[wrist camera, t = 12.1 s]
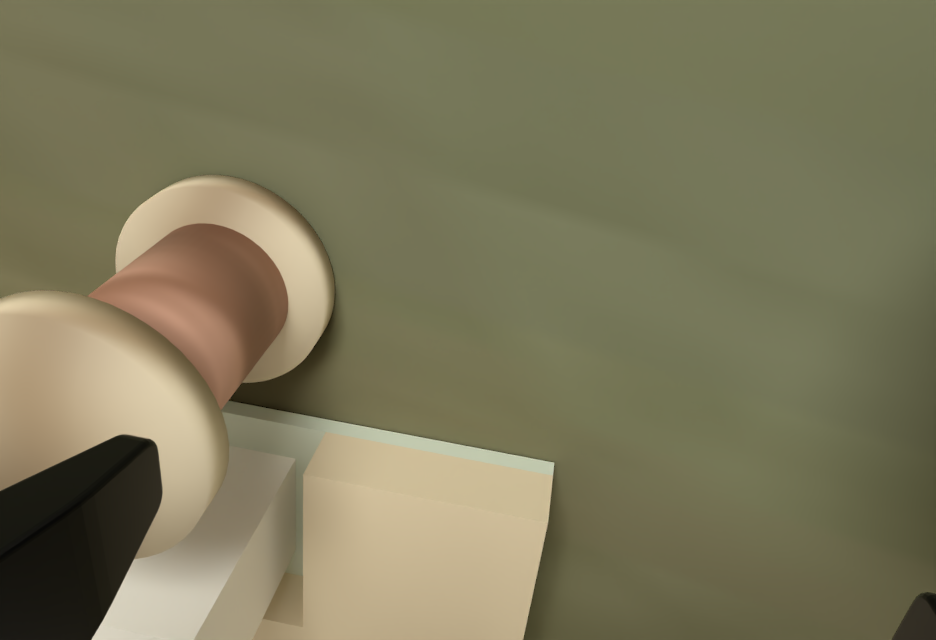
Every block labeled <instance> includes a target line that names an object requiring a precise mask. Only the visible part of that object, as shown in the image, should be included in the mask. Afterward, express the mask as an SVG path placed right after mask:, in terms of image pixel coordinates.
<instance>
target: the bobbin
mask: <svg viewBox="0 0 936 640" xmlns="http://www.w3.org/2000/svg"><path fill="white" fill-rule="evenodd" d="M334 299H335V282H334V276H333V270H332V267H331V263H330V260H329V257H328V255H327V252H326V250H325V248H324V246H323V244H322V242H321V240H320V239H319V237H318V236H317V234H316V232H315V231H314V229H313V228H312V227H311V226H310V224H309V223H308V222H307V221H306V219H305V218H304V217H303V216H302V215H301V214H300V213H299V212H298V211H297V210H296V209H295V208H294V207H292V206H291V205H290V204H289V203H288V202H286V201H285V200H284V199H282V198H281V197H279V196H278V195H276V194H275V193H273V192H272V191H270V190H268V189H266V188H264V187H262V186H260V185H258V184H255V183H252V182H250V181H247V180H244V179H240V178H236V177H231V176H224V175H200V176H194V177H189V178H186V179H183V180H180V181H177V182H175V183H174V184H172V185H170V186H168V187H166V188H165V189H163V190H162V191H160V192H159V193H157V194H156V195H154V196H153V197H151V198H150V199H148V200H147V201H145V202H144V203H143V204H142V205H140V206H139V207H138V208H137V209H136V210H135V211H134V212H133V213H132V214H131V215H130V217H129V218H128V220H127V222H126V223H125V225H124V227H123V229H122V231H121V234H120V236H119V240H118V244H117V248H116V274H115V275H114V276H113V277H112V278H110V279H109V280H108V281H106V282H105V283H104V284H102V285H101V286H100V287H99V288H97V289H96V290H95V291H93V292H92V293H91V294H89V295H88V296H84V295H79V294H75V293H71V292H63V291H54V290H33V291H27V292H20V293H15V294H12V295H9V296H6V297H3V298H1V299H0V491H1V490H3V489H5V488H7V487H9V486H11V485H13V484H15V483H18V482H20V481H22V480H24V479H26V478H28V477H30V476H32V475H34V474H37V473H39V472H41V471H43V470H45V469H47V468H49V467H51V466H54V465H56V464H58V463H60V462H62V461H64V460H66V459H68V458H70V457H73V456H75V455H77V454H79V453H81V452H83V451H85V450H87V449H89V448H92V447H94V446H96V445H98V444H100V443H102V442H104V441H106V440H109V439H111V438H113V437H115V436H118V435H121V434H128V435H133V436H138V437H143V438H148V439H151V440H153V441H154V442H155V443H156V445H157V447H158V453H159V461H160V470H161V478H162V487H163V494H162V501H161V504H160V507H159V510H158V512H157V514H156V516H155V518H154V520H153V522H152V524H151V526H150V528H149V530H148V532H147V534H146V536H145V538H144V540H143V542H142V544H141V546H140V548H139V550H138V552H137V554H136V556H135V558H134V559H139V558H145V557H149V556H153V555H156V554H159V553H162V552H164V551H166V550H168V549H170V548H172V547H174V546H175V545H176V544H178V543H179V542H181V541H182V540H183V539H184V538H185V537H186V536H187V535H188V534H189V533H190V532H191V531H192V530H193V529H194V527H195V526H196V524H197V523H198V521H199V520H200V518H201V517H202V515H203V514H204V512H205V511H206V509H207V508H208V506H209V504H210V503H211V501H212V500H213V498H214V497H215V495H216V494H217V492H218V491H219V489H220V487H221V486H222V483H223V481H224V478H225V476H226V473H227V467H228V462H229V440H228V433H227V428H226V425H225V421H224V418H223V414H222V412H221V410H222V408H223V407H224V406H225V404H226V403H227V402H228V400H229V399H230V398H231V396H232V395H233V394H234V392H235V391H236V390H237V389H238V387H239V386H240V385H241V383H252V382H261V381H266V380H270V379H273V378H276V377H279V376H281V375H283V374H285V373H287V372H289V371H290V370H292V369H294V368H295V367H296V366H297V365H299V364H300V363H301V362H302V361H303V360H304V359H305V358H306V357H307V356H308V354H309V353H310V352H311V350H312V349H313V347H314V346H315V344H316V343H317V341H318V340H319V338H320V337H321V335H322V333H323V332H324V330H325V329H326V327H327V325H328V323H329V320H330V318H331V315H332V311H333V307H334Z"/></svg>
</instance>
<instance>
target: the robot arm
mask: <svg viewBox="0 0 936 640" xmlns="http://www.w3.org/2000/svg"><path fill="white" fill-rule="evenodd" d="M162 494H163V487H162V478H161V470H160V461H159V453H158V447H157V445H156V443H155V442H154V441H153V440H151V439H148V438H143V437H138V436H133V435H128V434H121V435H118V436H115V437H113V438H111V439H109V440H106V441H104V442H102V443H100V444H98V445H96V446H94V447H92V448H89V449H87V450H85V451H83V452H81V453H79V454H77V455H75V456H73V457H70V458H68V459H66V460H64V461H62V462H60V463H58V464H56V465H54V466H51V467H49V468H47V469H45V470H43V471H41V472H39V473H37V474H34V475H32V476H30V477H28V478H26V479H24V480H22V481H20V482H18V483H15V484H13V485H11V486H9V487H7V488H5V489H3V490H1V491H0V640H92V638H93V636H94V635H95V633H96V631H97V630H98V628H99V626H100V625H101V623H102V621H103V620H104V618H105V616H106V614H107V612H108V610H109V608H110V606H111V605H112V603H113V601H114V599H115V597H116V595H117V593H118V591H119V589H120V587H121V585H122V583H123V581H124V579H125V577H126V574H127V572H128V570H129V568H130V566H131V564H132V562H133V560H134V558H135V556H136V554H137V552H138V550H139V548H140V546H141V544H142V542H143V540H144V538H145V536H146V534H147V532H148V530H149V528H150V526H151V524H152V522H153V520H154V518H155V516H156V514H157V512H158V510H159V507H160V504H161V501H162ZM892 640H936V594H935V593H930V592H925V593H921V594H920V595H918V596H917V597H916V598H915V600H914V601H913V603H912V604H911V606H910V608H909V610H908V612H907V613H906V615H905V617H904V619H903V620H902V622H901V624H900V626H899V627H898V629H897V631H896V633H895V634H894V636H893V638H892Z"/></svg>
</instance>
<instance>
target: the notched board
mask: <svg viewBox="0 0 936 640" xmlns="http://www.w3.org/2000/svg"><path fill="white" fill-rule="evenodd" d="M221 412H222V414H223V418H224V421H225V425H226V428H227V433H228V440H229V446H234V447H239V448H244V449H249V450H254V451H259V452H264V453H269V454H275V455H280V456H285V457H290V458H295V459H296V550H295V553H294V555H293V557H292V559H291V561H290V563H289V565H288V567H287V569H286V571H285V573H284V575H283V577H282V579H281V581H280V583H279V586H278V588H277V590H276V592H275V594H274V596H273V598H272V600H271V602H270V604H269V606H268V608H267V610H266V612H265V614H264V617H263V619H262V621H261V623H260V625H259V627H258V629H257V631H256V633H255V635H254V637H253V639H252V640H523V638H524V633H525V628H526V624H527V619H528V614H529V610H530V605H531V600H532V596H533V591H534V586H535V582H536V577H537V572H538V568H539V563H540V558H541V554H542V549H543V544H544V540H545V535H546V530H547V526H548V519H549V509H550V500H551V490H552V481H553V471H554V463H553V462H548V461H543V460H537V459H532V458H527V457H522V456H516V455H511V454H506V453H501V452H495V451H490V450H485V449H480V448H474V447H469V446H464V445H459V444H453V443H448V442H443V441H438V440H432V439H427V438H422V437H417V436H411V435H406V434H401V433H396V432H390V431H385V430H380V429H375V428H369V427H364V426H359V425H354V424H348V423H343V422H338V421H333V420H327V419H322V418H317V417H312V416H306V415H301V414H296V413H291V412H285V411H280V410H275V409H270V408H264V407H259V406H254V405H249V404H243V403H238V402H233V401H228V402H227V403H226V404H225V406H224V407H223V408H222V410H221Z"/></svg>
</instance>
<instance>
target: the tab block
mask: <svg viewBox="0 0 936 640" xmlns="http://www.w3.org/2000/svg"><path fill="white" fill-rule="evenodd" d="M295 550H296V459H295V458H290V457H285V456H280V455H275V454H269V453H264V452H259V451H254V450H249V449H244V448H239V447H234V446H229V462H228V467H227V473H226V476H225V478H224V481H223V483H222V486H221V487H220V489H219V491H218V492H217V494H216V495H215V497H214V498H213V500H212V501H211V503H210V504H209V506H208V508H207V509H206V511H205V512H204V514H203V515H202V517H201V518H200V520H199V521H198V523H197V524H196V526H195V527H194V529H193V530H192V531H191V532H190V533H189V534H188V535H187V536H186V537H185V538H184V539H183V540H182V541H181V542H179V543H178V544H176V545H175V546H174V547H172V548H170V549H168V550H166V551H164V552H162V553H159V554H156V555H153V556H149V557H145V558H139V559H134V560H133V562H132V564H131V566H130V568H129V570H128V572H127V574H126V577H125V579H124V581H123V583H122V585H121V587H120V589H119V591H118V593H117V595H116V597H115V599H114V601H113V603H112V605H111V606H110V608H109V610H108V612H107V614H106V616H105V618H104V620H103V621H102V623H101V625H100V626H99V628H98V630H97V631H96V633H95V635H94V636H93V638H92V640H252V639H253V637H254V635H255V633H256V631H257V629H258V627H259V625H260V623H261V621H262V619H263V617H264V614H265V612H266V610H267V608H268V606H269V604H270V602H271V600H272V598H273V596H274V594H275V592H276V590H277V588H278V586H279V583H280V581H281V579H282V577H283V575H284V573H285V571H286V569H287V567H288V565H289V563H290V561H291V559H292V557H293V555H294V553H295Z"/></svg>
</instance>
